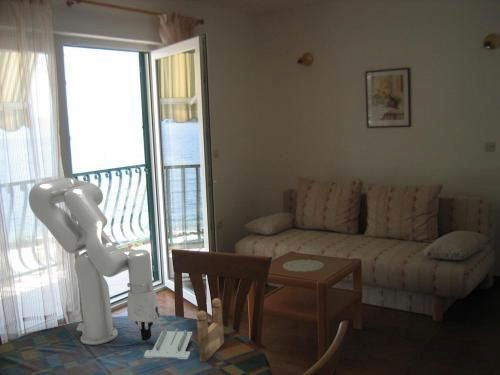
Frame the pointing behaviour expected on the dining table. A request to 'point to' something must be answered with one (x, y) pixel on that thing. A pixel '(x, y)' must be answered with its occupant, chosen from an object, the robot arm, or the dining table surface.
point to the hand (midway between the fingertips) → (146, 339)
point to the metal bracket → (171, 345)
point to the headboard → (210, 331)
